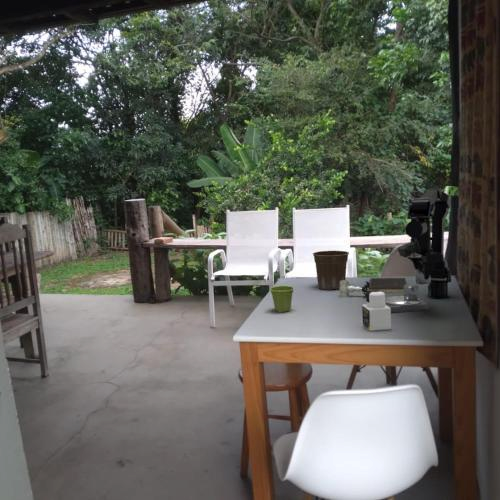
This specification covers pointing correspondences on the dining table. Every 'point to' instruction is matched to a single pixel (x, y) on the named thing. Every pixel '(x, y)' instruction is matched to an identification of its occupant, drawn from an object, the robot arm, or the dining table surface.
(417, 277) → the steel spacer
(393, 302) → the dial scale
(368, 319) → the medicine bottle
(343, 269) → the plant pot
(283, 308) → the plant pot
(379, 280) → the hardcover book
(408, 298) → the cylinder
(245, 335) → the dining table surface
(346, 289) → the valve
